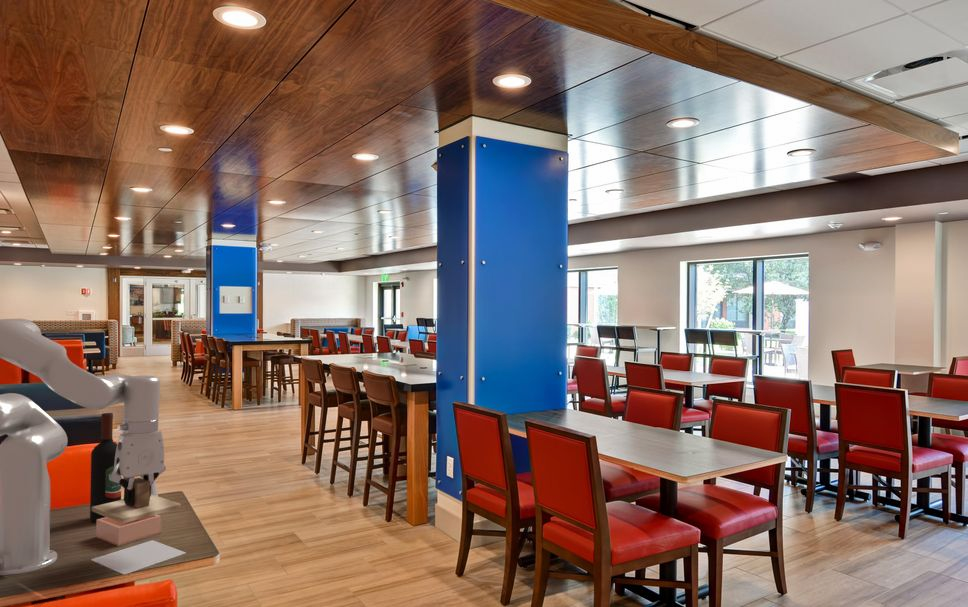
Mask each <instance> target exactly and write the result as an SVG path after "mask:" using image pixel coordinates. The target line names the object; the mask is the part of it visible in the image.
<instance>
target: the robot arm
mask: <svg viewBox="0 0 968 607" xmlns="http://www.w3.org/2000/svg"><path fill="white" fill-rule="evenodd" d="M0 359H2V360H4V361H6V362H8V363H11V364H13V365H14V366H17V367H18V368H20V369H22V370H24V371H26V372H28V373H31V374H32V375H34V376H36V377H37V378H39V379H40V380H41V381H42V382H43V383H44V384H45V385H46V386H47V387H48V388H49V389H50V390H52V391H53V392H54V393H56V394H57V395H58V396H60V397H62V398H64V399H66V400H69V401H71V402H72V403H74V404H76V405H78V406H81V407H82V408H84V409H88V410H94V411H95V410H99V411H100V410H103V409H106V408H109V407H112V406H115V405H118V404H123V418H122V419H123V420H122V421H121V422H122V424H118V425H117V431H118V432H120V431H121V432H122V433H119V437H118V441H117V443H116V444H117V448H116V454H115V464H114V471H113V472H112V474H111V476H110V478H109V480H110V481H113V482H116V483H119V484H120V485H121V488H123V500H124V502H125V504H127V505H130V506H133V505H134V501H135V489H133V484H134V478H138V477H141V476H142V475H143V478H142V479H145V480H148V481H150V494H149V501H150V496H151V485H153V484H154V481H155V482H156V480H157V479H158V477H159V476H160V475H162V474H163V473H164V472H165V471H166V470H167V467H166V465H165V444H164V438H163V437H164V436H163V433H162V430H159V415H160V396H161V395H160V394H161V380H160V379H159V377H158V376H154V375H145V374H144V375H126V374H122V373H108V374H104V375H98V376H97V375H95V374H93V373H92V372H89V371H88V370H85V369H83V368H81V367H80V366H78V365H77V364H75V363H73V362H72V361H71V360H70V359H69V357H68V355H67V349H66V348H65V346H64V345H62V344H60V343H58V342H56V341H53V340H52V339H50V338H48V337H45V336H44V335H42V331H41V328H40V327H39V326H38V325H37V324H36V323H35V322H33V321H31V320H29V319H25V318H0ZM4 435H7V437H6V438H5V439H4V440H3V441H1V443H0V576H7V575H8V576H9V575H18V574H25V573H29V572H33V571H37V570H40V569H43V568H45V567H47V566H50V565H51V564H53V563H55V562H56V560H57V559H58V552H57V551H55V550H52V549H50V542H51V541H50V539H51V538H50V537H51V536H50V535H51V534H50V532H51V478H50V474H49V471H48V466H47V463H49V462H52V461H54V460H55V459H56V458H59V457H60V456H61V455H63V453H64V452H65V450H66V448H67V447H68V440H69V439H68V436H67V433H66V431H65V430H64V428H63V427H62V426H61V425H60V424H59V423H58V422H57V421H56V420H54V418H53V417H51V416H50V415H49V414H48V413H47V412H45V410H43V409H42V408H41V407H40V405H38V404H37V403H35V402H34V401H33V400H32V399H30V398H29V397H27V396H26V395H23V394H19V393H15V392H14V393H13V392H8V393H3V394H0V437H2V436H4ZM119 475H121V478H120V477H119Z"/></svg>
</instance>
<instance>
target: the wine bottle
mask: <svg viewBox="0 0 968 607" xmlns="http://www.w3.org/2000/svg"><path fill="white" fill-rule="evenodd" d="M100 419H101V428H100V430H101V432H100V433H101V435H100V436H101V437H100V442H99V443H98V444H97V445H95V446H94V448H93V449H92V450H91V453H90V488H89V489H90V490H89V491H90V493H89V494H90V497H89V498H90V499H89V501H90V505H89V521H90V522H91V523H95V524H96V521H97V519H101V518H105V516H103V515H100V514H98V513H95V512H93V511H92V507H93V506H97V505H102V504H106V503H111V502H115V501H119V500H122V486H121V485H120V484H119V483H116V482H113V481H110V480H109V478H110V476H111V474H112V472H113V471H114V464H115V454H116V448H117V444H118V443H116V442H114V440H113V430H114V429H113V425H114V424H113V422H114V421H113V420H114V413H113V412H103V413H101V417H100ZM119 477H120V478H122V475H119Z"/></svg>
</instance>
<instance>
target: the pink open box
mask: <svg viewBox="0 0 968 607" xmlns="http://www.w3.org/2000/svg"><path fill="white" fill-rule="evenodd" d="M95 524H96V528H95V529H96V531H95V532H96V534H95V537H96V538H97V539H99V540H102V541H104V542H107V543H108V544H111V545H114V546H116V547H122V546H125V545H129V544H131V543H134V542H137V541H140V540H144V539H147V538H150V537H153V536H156V535H159V534H161V533H162V515H160V514H157V515H153V516H149V517H145V518H141V519H138V520H134V521H130V522H126V523H120V522H118V521H115V520H113V519H110V518H108V517H105V518H101V519H97V521H96V523H95Z"/></svg>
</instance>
